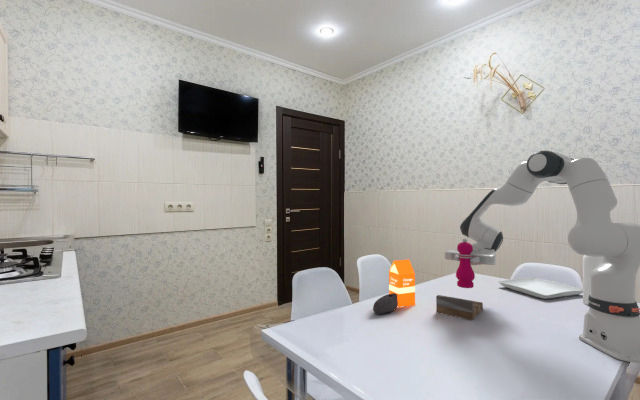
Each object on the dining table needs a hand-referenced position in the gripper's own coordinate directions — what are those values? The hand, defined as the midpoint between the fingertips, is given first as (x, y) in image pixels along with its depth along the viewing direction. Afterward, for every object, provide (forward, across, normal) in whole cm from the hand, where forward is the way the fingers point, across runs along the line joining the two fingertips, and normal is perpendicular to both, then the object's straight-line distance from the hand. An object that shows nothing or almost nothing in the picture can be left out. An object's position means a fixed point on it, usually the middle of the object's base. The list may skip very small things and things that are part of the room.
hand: (464, 259), depth 134 cm
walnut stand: (-1, -2, +22) cm, 22 cm away
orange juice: (+5, -26, +23) cm, 35 cm away
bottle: (-48, +41, +23) cm, 67 cm away
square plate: (-58, +20, +24) cm, 66 cm away
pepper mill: (-1, 0, +12) cm, 12 cm away
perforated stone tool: (+20, -26, +22) cm, 40 cm away
